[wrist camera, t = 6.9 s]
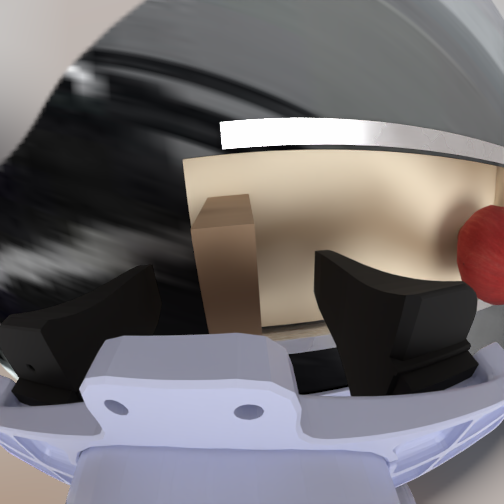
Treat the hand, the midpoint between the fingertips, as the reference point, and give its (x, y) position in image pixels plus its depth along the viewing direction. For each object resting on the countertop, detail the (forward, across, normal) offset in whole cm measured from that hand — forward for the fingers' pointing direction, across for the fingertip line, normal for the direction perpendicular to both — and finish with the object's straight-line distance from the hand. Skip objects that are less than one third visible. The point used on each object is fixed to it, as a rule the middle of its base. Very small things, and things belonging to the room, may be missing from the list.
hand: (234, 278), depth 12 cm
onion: (+3, -15, 0) cm, 16 cm away
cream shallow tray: (+3, -9, 0) cm, 10 cm away
